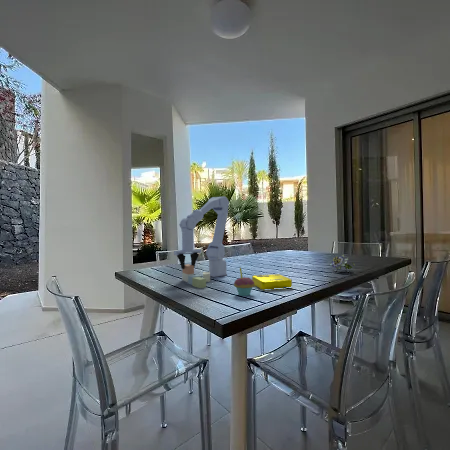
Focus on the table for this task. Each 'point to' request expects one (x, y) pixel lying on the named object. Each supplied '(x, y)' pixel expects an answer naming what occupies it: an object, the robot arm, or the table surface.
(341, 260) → the passion flower
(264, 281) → the element tile
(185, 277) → the grey brick
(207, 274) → the cream brick
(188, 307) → the table surface
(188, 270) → the terracotta brick
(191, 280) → the blue brick
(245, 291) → the cupcake
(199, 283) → the olive brick
